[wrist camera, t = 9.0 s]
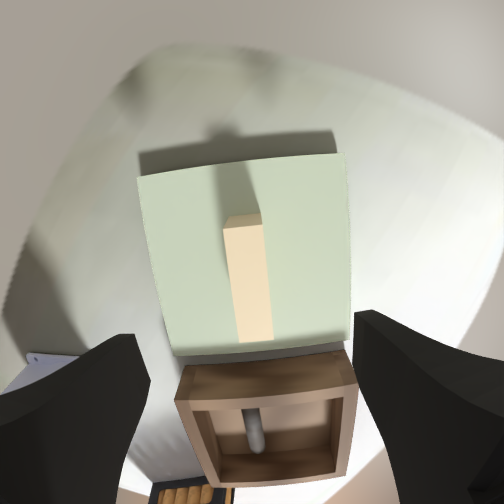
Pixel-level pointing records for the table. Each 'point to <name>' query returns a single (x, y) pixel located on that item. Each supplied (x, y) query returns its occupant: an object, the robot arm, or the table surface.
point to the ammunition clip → (190, 492)
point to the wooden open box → (270, 419)
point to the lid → (251, 253)
